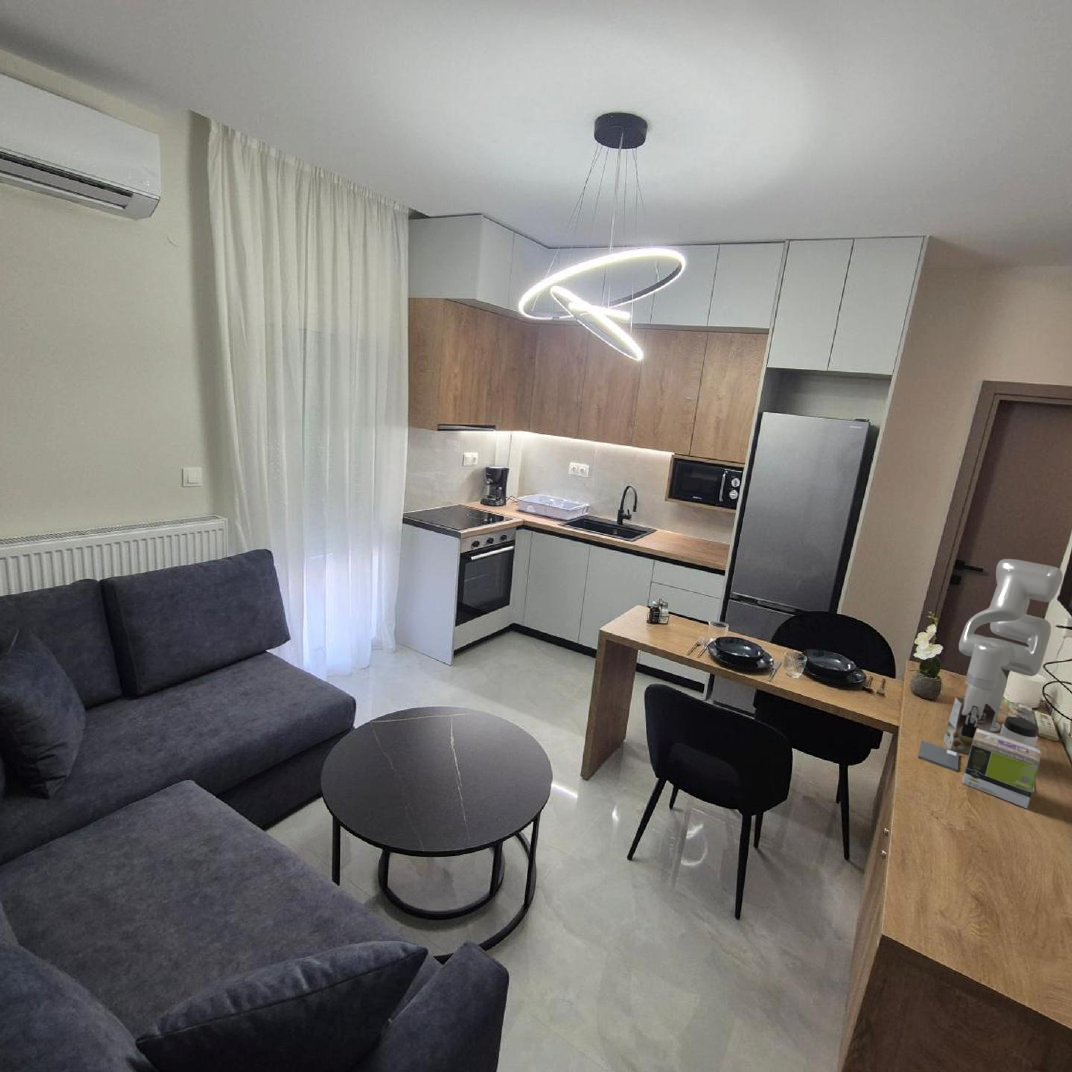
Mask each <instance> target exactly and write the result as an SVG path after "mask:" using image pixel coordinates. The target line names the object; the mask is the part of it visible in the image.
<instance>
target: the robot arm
mask: <svg viewBox="0 0 1072 1072" xmlns="http://www.w3.org/2000/svg"><path fill="white" fill-rule="evenodd" d="M995 579H996V584H997V585H996V588H995V591H994V593H993V596H992V599H991V602H990V605H989V607H988V608H986V609H983V610H982V611H979V612H978V613H976V614H974V615H973V616H972V617H970V618H969V620H968V621H967V622H966V624H965V626H964V628H963V630H962V633H961V636H960V639H959V642H958V650H959V652H960V653H961V654H963V655H965V656H967V657H971V658H970V661H969V665H968V668H967V669H968V670H967V673H966V678H965V681H964V682H965V684H966V685H967V687H966V691H965V694H964V696H963V699H964V707H963V710H962V715H967V717H966V721H965V723H964V725H963V728H962V732H961V735H963V736H966V737H969V738H974V735H975V731H976V728H977V727H976V725H977V720H979V719H980V718H981V716H982V713H983V710H984V707H985V704H988V705H989V706H990V707H991V708H992V709H993V710H994V711H995V715H994V719H993V722H992V725H991V729H990V732H991V733H994V732H995V733H996V732H998V731H999V732H1000V731H1001V728H1002V725H1001V724H1000V723H999V722H998V721H997V720H998V717H999V712H1000V709H1001V706H1002V703H1003V699H1004V695H1005V691H1006V688H1007V684H1008V680H1007V677H1006V675H1005V673H1004V671H1003V670H1006V671H1009V672H1013V673H1016V674H1018V675H1019V674H1020V675H1023V676H1027V677H1033V676H1037V674H1038V673H1040V670H1041V668H1042V665H1043V661H1044V657H1045V654H1046V651H1047V648H1048V644H1049V640H1050V637H1051V634H1052V626H1051V623H1050V622H1049V621H1048V620H1047V619H1045V618H1042V617H1037V616H1034V615H1031V614H1027V613H1028V609H1029V605H1030V600H1033V601H1034V600H1035V601H1038V602H1044V603H1048V602H1051V601H1052V600H1054V598H1055V597H1056V594H1057V592H1058V591H1059V588H1060V587H1061V584H1062V581H1063V571H1062V569H1060V568H1059V567H1056V566H1052V565H1048V564H1043V563H1042V564H1041V563H1036V562H1032V561H1026V560H1021V559H1013V558H1003V559H1001V560H999V561H998V562H997V565H996V569H995ZM985 624H989V629H990V631H991V633H993V634H995V635H997V636H1000V637H1003V638H1007V639H1010V640H1014V641H1018V642H1021V643H1025V644H1027V645H1028V646H1026V645H1022V644H1018V643H1014V642H1012V641H1007V640H1004V639H999V638H995V637H988V636H987V637H986V636H984V635H980V634H976V633H975V631H976V629H978V628H979V627H980V626H982V625H985ZM971 709H972V710H971ZM969 712H970V714H971V715H969ZM976 715H977V716H976ZM978 716H979V717H978ZM969 718H970V719H969Z"/></svg>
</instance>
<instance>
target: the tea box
mask: <svg viewBox="0 0 1072 1072" xmlns="http://www.w3.org/2000/svg"><path fill="white" fill-rule="evenodd" d="M1041 753H1042V748H1039V747H1036V746H1035V747H1033V746H1030V745H1027V744H1024V743H1021V742H1018V741H1015V740H1012V739H1009V738H1006V737H1003V736H1000V734H997V733H994V732H991V731H990V732H988V731H985V730H982V729H979V728H977V729H976V732H975V735H974V738H973V742H972V746H971V749H970V753H969V754H968V758H967V762H966V765H965V768H964V775H963V777H962V784H963V785H967V786H969V787H971V788H974V789H976V790H979V791H981V792H984V793H987V794H989V795H992V796H995V797H997V798H1000V799H1001V800H1004V801H1007V802H1009V803H1012V804H1013V805H1017V806H1019V807H1022V808H1025V809H1028V808H1029V804H1030V803H1031V802H1030V801H1031V798H1032V794H1033V793H1032V791H1033V787H1035V784H1036V780H1037V776H1038V773H1039V769H1040V765H1041Z"/></svg>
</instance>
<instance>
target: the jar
mask: <svg viewBox="0 0 1072 1072" xmlns="http://www.w3.org/2000/svg"><path fill="white" fill-rule="evenodd" d="M1039 729H1040V727H1039V726H1038V725H1037V724H1035V723H1034V722H1031V721H1029V720H1027V719H1024V718H1021V717H1017V716H1007V717H1006V718H1005V721H1004V723H1002V725H1001V728H1000V730H999V735H1000V736H1003V737H1006V738H1009V739H1012V740H1015V741H1018V742H1021V743H1024V744H1027V745H1030V746H1033V747H1036V746H1037V744H1038V743H1037V742H1038V739H1039V736H1038V732H1039Z"/></svg>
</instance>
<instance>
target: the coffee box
mask: <svg viewBox="0 0 1072 1072" xmlns="http://www.w3.org/2000/svg"><path fill="white" fill-rule="evenodd" d="M963 707H964V697H958V696H956V697H955V699H954V702H953V706H952V709H951V713H950V716H949V719H948V723H947V727H946V730H945V734H944V737H943V742H944V743H945V745H946V746H947V749H949V750H951V751H954V752H957V753H962V754H966V755H969V753H970V749H971V746H972V742H973V738H969V737H966V736H963V735H961V732H962V728H963V725H964V723H965V721H966V717H967V715H962V710H963ZM971 710H972V709H971ZM969 715H971V714H970V712H969ZM994 715H995V711H994V710H993V709H992V708H991V707H990V706H989V705H988V704H985V707H984V710H983V713H982V716H981V718H980V719H979V720H977V725H976V727H977V728H979V729H982V730H985V731H988V732H991V731H990V729H991V725H992V722H993V719H994ZM976 716H977V715H976ZM978 717H979V716H978ZM969 719H970V718H969ZM977 728H976V729H977ZM975 732H976V731H975Z"/></svg>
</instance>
